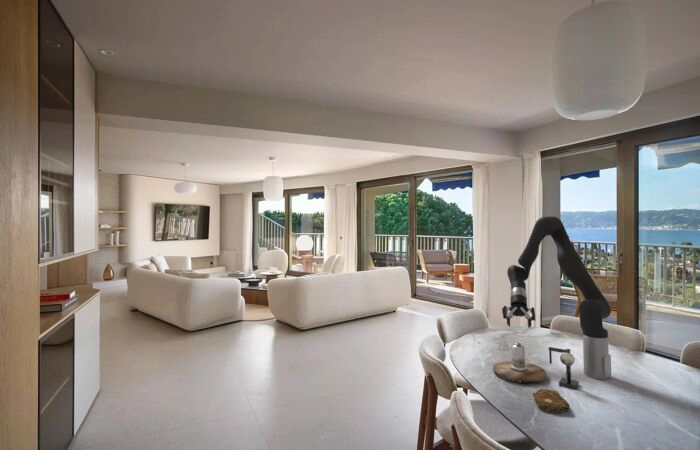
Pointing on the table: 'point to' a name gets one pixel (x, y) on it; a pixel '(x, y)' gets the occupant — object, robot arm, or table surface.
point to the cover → (518, 358)
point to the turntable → (531, 375)
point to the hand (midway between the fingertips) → (519, 326)
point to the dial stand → (568, 361)
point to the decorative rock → (550, 401)
